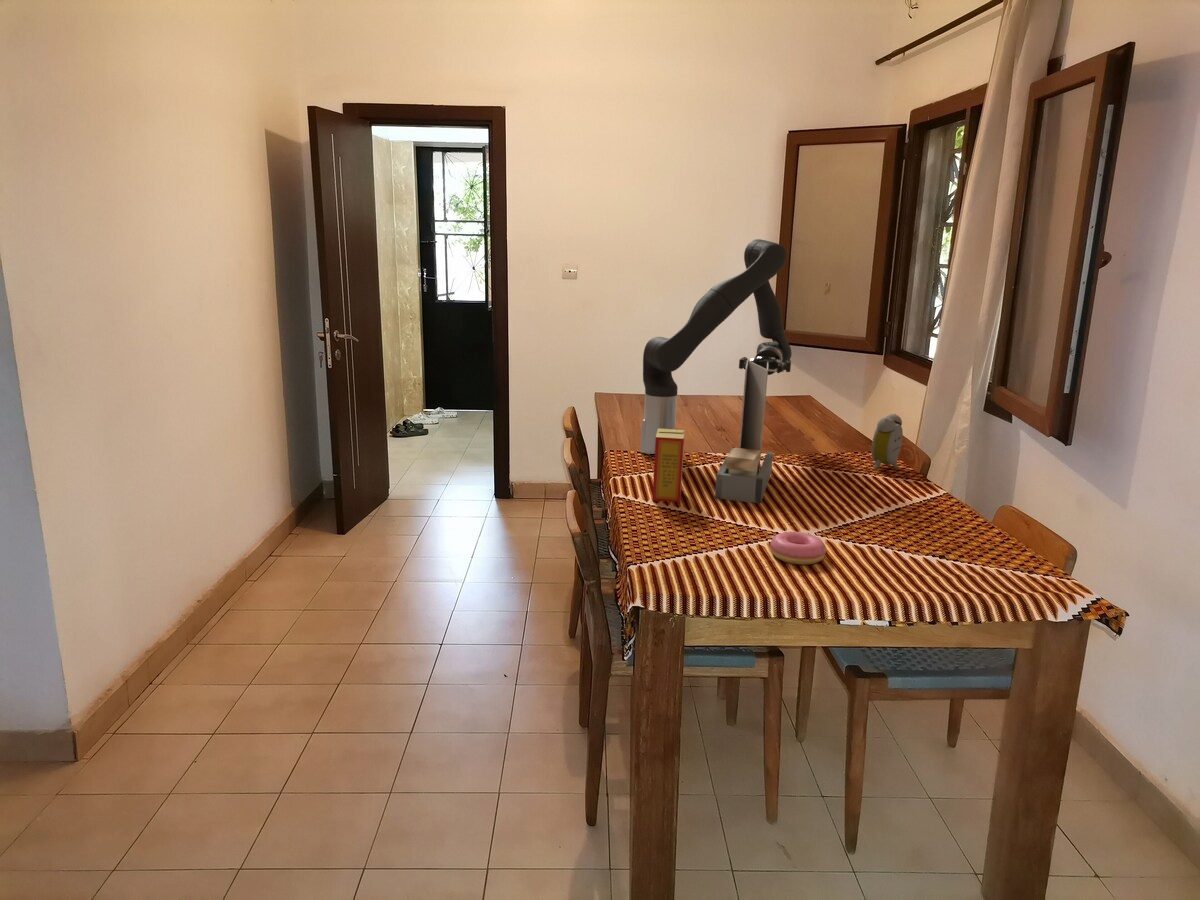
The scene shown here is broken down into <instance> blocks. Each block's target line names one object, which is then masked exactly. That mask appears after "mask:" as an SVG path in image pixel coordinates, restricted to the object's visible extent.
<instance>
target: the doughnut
mask: <svg viewBox="0 0 1200 900" xmlns="http://www.w3.org/2000/svg"><path fill="white" fill-rule="evenodd" d="M769 546H770V551H771V553H772V555H773V556H774V557H775V558H777V559H778V560H781V561H782V562H785V563H789V564H793V565H798V566H799V565H801V566H804V565H805V566H806V565H813V564H817V563H819V562H821V561H822V560H823V559H824V557H825V555H826V553H828V551H827V548H826V544H825V543H824V541H823V540H822V539H821V538H820V537H818V536H816V535H814V534H811V533H809V532H808V533H806V532H801V531H783V532H780V533H777V534H776V535H774V537H772V538H771V539H770V544H769Z"/></svg>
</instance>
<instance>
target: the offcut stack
mask: <svg viewBox="0 0 1200 900" xmlns="http://www.w3.org/2000/svg"><path fill="white" fill-rule="evenodd" d="M728 454H729V453H728ZM728 454H727V456H726V457H727V467H726V468H727V469H729V474H734V475H743V476H751V477H757V476H758V475H757V468H758V463H759V459H760V460H761V458H760V450H752V449H743V448H739V447H734V449H733V450H732V452H731V453H730V454H729V455H728Z"/></svg>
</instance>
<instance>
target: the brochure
mask: <svg viewBox="0 0 1200 900" xmlns="http://www.w3.org/2000/svg"><path fill="white" fill-rule="evenodd" d="M748 360H749V359H748ZM748 360H747V364H746V368H745V369H744V370H745V371H744V383H743V384H744V385H743V393H742V394H743V395H742V410H741V421H740V431H739V433H740V434H739V445H738V446H739V447H738V448H743V449H752V450H760V459H759V463H758V468H757V475H758V473H759V471H760V469H761V456H762V448H763V447H762V446H763V435H764V424H765V423H764V420H765V410H766V409H765V408H766V399H767V388H768V387H767V385H768V376H769V375H768V362H767V369H765V368H763V367H761V366H759V365H757V364H755V363H753V362H750V361H748Z"/></svg>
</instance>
